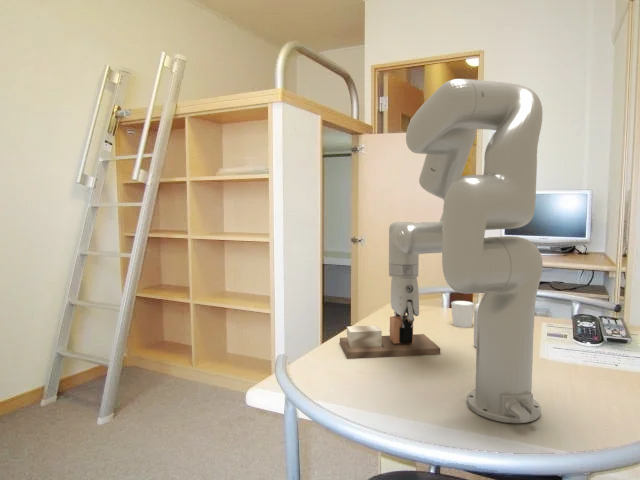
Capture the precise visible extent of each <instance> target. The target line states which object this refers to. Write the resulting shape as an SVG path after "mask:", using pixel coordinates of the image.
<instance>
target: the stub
mask: <svg viewBox="0 0 640 480" xmlns="http://www.w3.org/2000/svg"><path fill="white" fill-rule="evenodd" d="M405 319H407V318H404V321H405ZM400 327H401V316H389V336H390V340H391V341H392V342H393V343H394V344H395V343H400ZM413 334H414V327H413V328H412V343H413Z"/></svg>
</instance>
